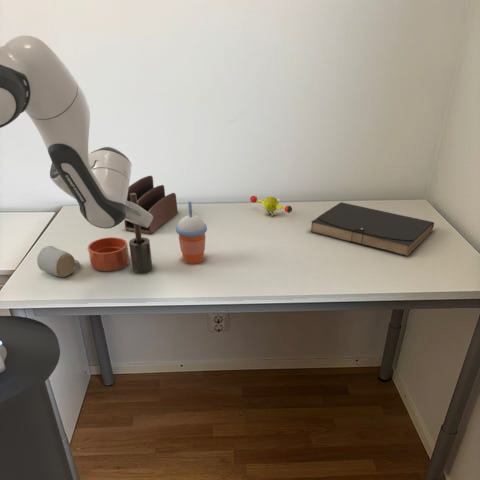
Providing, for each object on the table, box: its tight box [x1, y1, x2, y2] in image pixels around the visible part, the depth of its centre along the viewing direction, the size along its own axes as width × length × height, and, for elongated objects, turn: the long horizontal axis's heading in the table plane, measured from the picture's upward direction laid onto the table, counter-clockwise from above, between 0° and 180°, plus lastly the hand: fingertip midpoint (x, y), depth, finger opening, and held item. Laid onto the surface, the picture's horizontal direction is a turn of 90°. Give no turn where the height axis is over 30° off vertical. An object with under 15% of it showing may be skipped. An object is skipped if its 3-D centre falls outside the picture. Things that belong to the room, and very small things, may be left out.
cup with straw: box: [175, 201, 208, 265], centre depth 150 cm, size 9×9×18 cm
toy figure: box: [249, 195, 293, 217], centre depth 181 cm, size 18×6×7 cm, turn 49°
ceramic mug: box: [36, 245, 80, 278], centre depth 147 cm, size 11×8×8 cm
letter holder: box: [123, 175, 179, 235], centre depth 176 cm, size 10×20×14 cm, turn 159°
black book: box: [310, 201, 435, 257], centre depth 169 cm, size 33×4×24 cm
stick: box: [130, 193, 143, 244], centre depth 143 cm, size 2×2×22 cm
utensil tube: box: [128, 236, 154, 275], centre depth 147 cm, size 6×6×9 cm
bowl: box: [87, 236, 130, 272], centre depth 151 cm, size 11×11×6 cm
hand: (138, 222), depth 142 cm, fingers closed on stick, 1 cm apart
